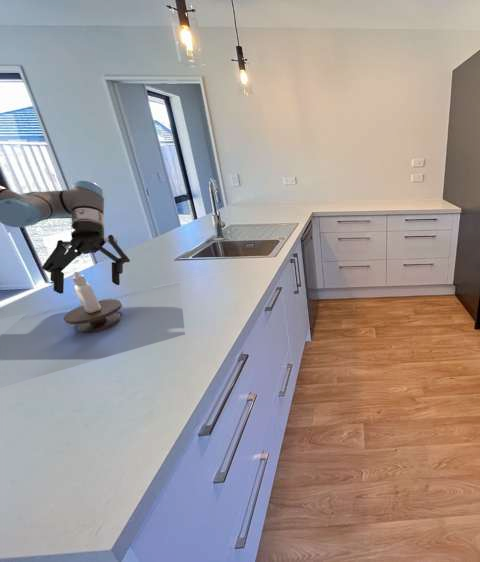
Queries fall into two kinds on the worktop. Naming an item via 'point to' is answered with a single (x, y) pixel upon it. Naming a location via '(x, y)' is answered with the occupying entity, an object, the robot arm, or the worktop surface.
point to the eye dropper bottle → (86, 294)
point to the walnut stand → (95, 317)
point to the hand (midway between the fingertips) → (87, 287)
